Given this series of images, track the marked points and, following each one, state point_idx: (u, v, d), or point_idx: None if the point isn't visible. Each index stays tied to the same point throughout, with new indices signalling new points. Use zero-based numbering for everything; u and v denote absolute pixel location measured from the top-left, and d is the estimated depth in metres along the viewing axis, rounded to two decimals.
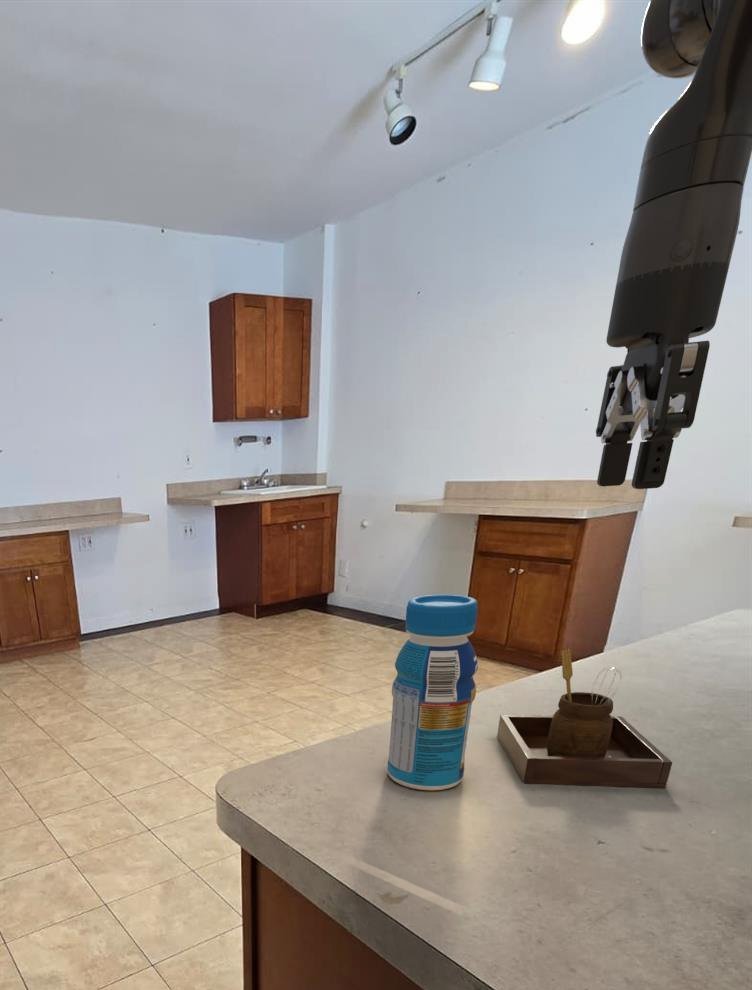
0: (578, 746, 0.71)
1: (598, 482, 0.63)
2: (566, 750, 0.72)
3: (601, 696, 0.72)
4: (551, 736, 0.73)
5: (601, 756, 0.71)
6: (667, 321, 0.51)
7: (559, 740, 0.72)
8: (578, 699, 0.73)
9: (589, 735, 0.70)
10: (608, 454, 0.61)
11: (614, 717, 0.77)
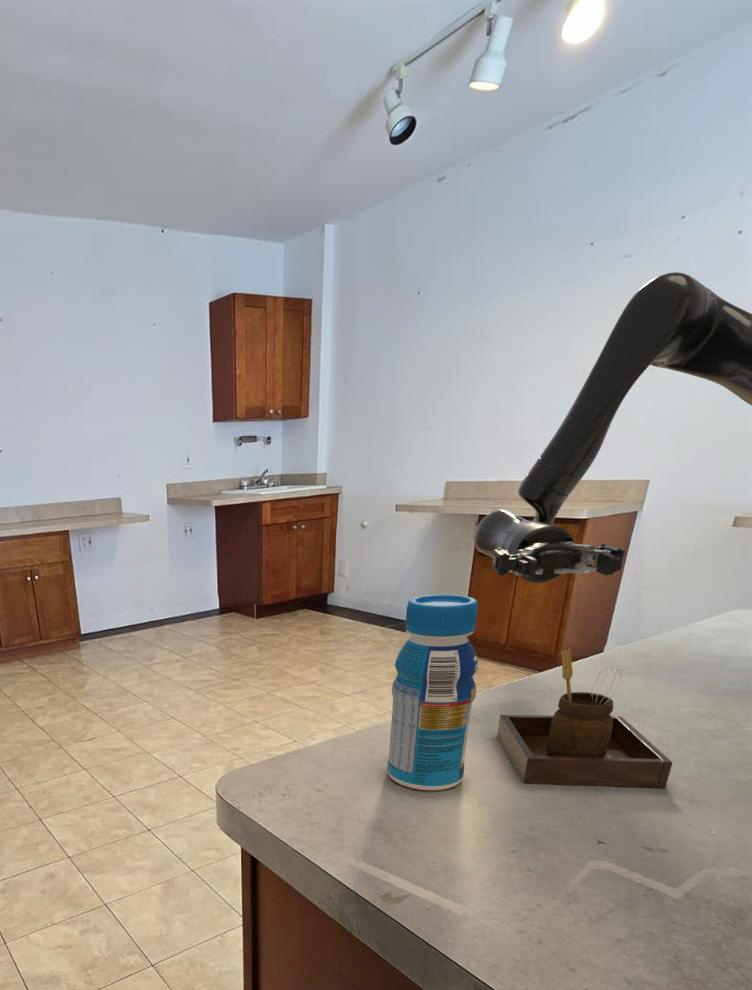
0: (578, 746, 0.71)
1: None
2: (566, 750, 0.72)
3: (601, 696, 0.72)
4: (551, 736, 0.73)
5: (601, 756, 0.71)
6: None
7: (559, 740, 0.72)
8: (578, 699, 0.73)
9: (589, 735, 0.70)
10: (598, 569, 0.78)
11: (614, 717, 0.77)
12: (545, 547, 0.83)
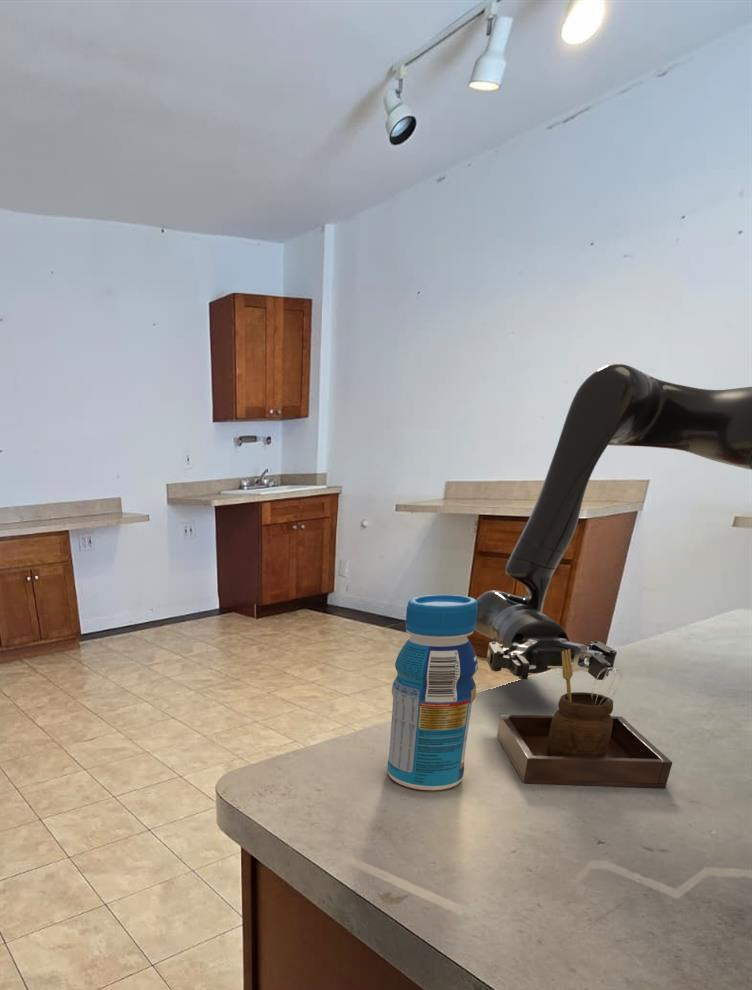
0: (578, 746, 0.71)
1: (599, 679, 0.78)
2: (566, 750, 0.72)
3: (601, 696, 0.72)
4: (551, 736, 0.73)
5: (601, 756, 0.71)
6: None
7: (559, 740, 0.72)
8: (578, 699, 0.73)
9: (589, 735, 0.70)
10: (590, 671, 0.80)
11: (614, 717, 0.77)
12: (538, 643, 0.85)
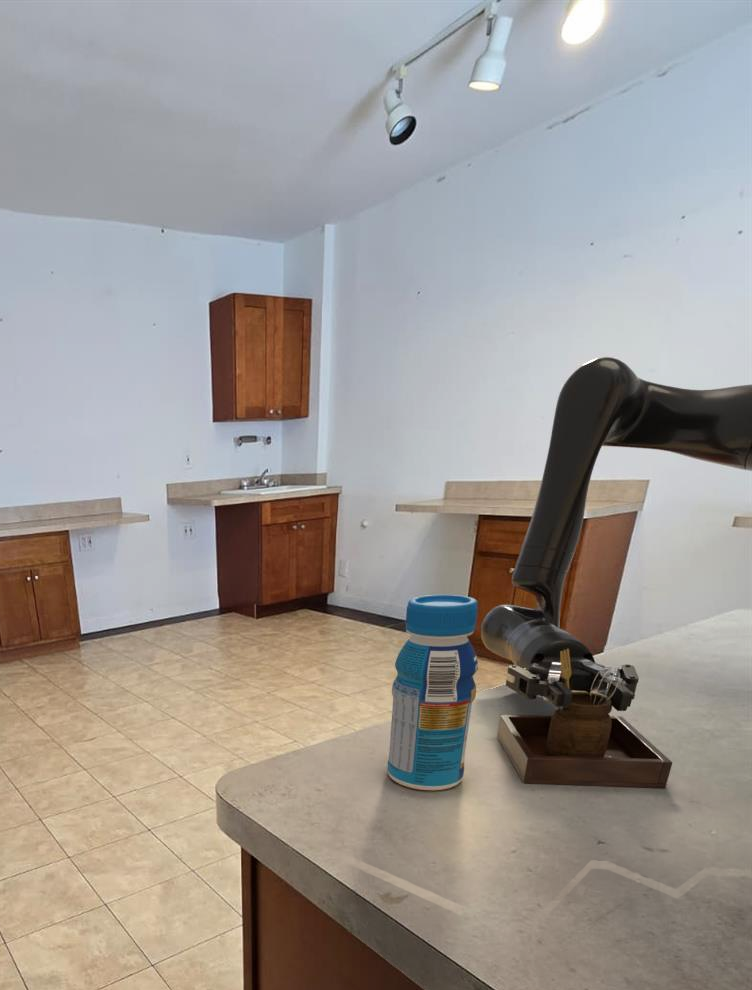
0: (577, 746, 0.71)
1: (620, 710, 0.69)
2: (565, 750, 0.72)
3: (600, 696, 0.72)
4: (550, 736, 0.73)
5: (600, 756, 0.71)
6: None
7: (558, 740, 0.72)
8: (577, 699, 0.73)
9: (588, 735, 0.70)
10: None
11: (614, 717, 0.77)
12: None
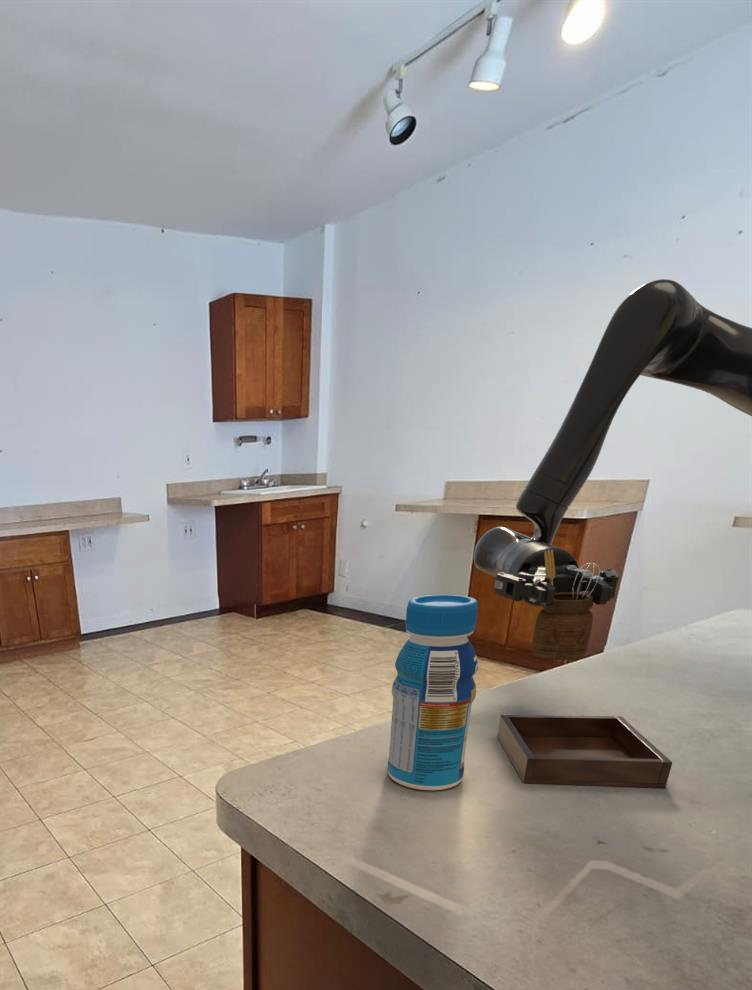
0: (560, 641, 0.75)
1: (601, 604, 0.73)
2: (549, 646, 0.76)
3: (582, 594, 0.75)
4: (535, 634, 0.77)
5: (582, 651, 0.75)
6: None
7: (542, 637, 0.76)
8: (561, 599, 0.77)
9: (570, 629, 0.74)
10: None
11: (614, 717, 0.77)
12: None
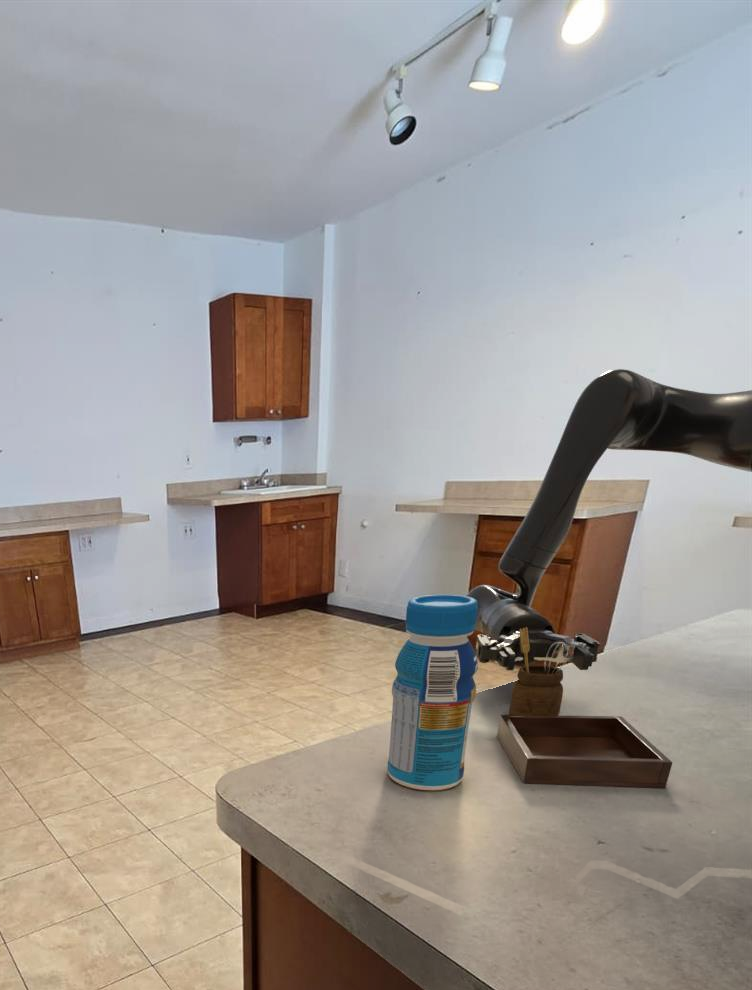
0: (533, 710, 0.83)
1: None
2: (523, 714, 0.84)
3: (554, 667, 0.84)
4: (512, 702, 0.85)
5: None
6: None
7: (518, 705, 0.84)
8: (535, 671, 0.85)
9: (542, 700, 0.82)
10: (574, 662, 0.83)
11: (614, 717, 0.77)
12: None
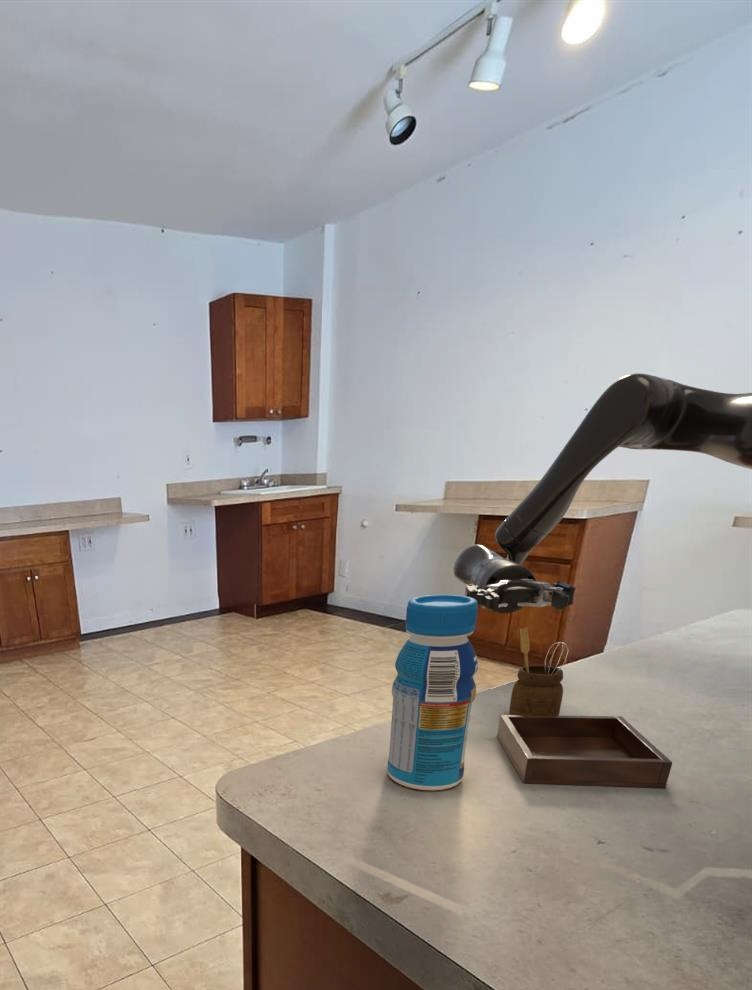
0: (533, 710, 0.83)
1: (560, 609, 0.90)
2: (523, 714, 0.84)
3: (554, 667, 0.84)
4: (512, 702, 0.85)
5: None
6: None
7: (518, 705, 0.84)
8: (535, 671, 0.85)
9: (542, 700, 0.82)
10: (553, 604, 0.92)
11: (614, 717, 0.77)
12: (509, 584, 0.97)
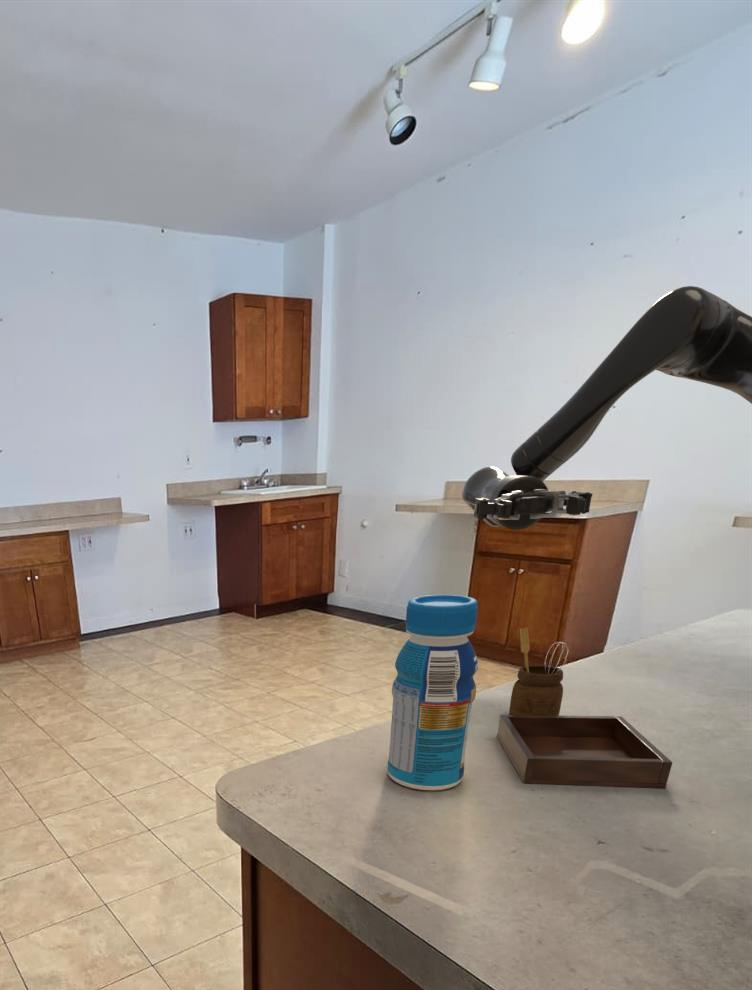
0: (533, 710, 0.83)
1: (576, 514, 0.85)
2: (523, 714, 0.84)
3: (554, 667, 0.84)
4: (512, 702, 0.85)
5: None
6: None
7: (518, 705, 0.84)
8: (535, 671, 0.85)
9: (542, 700, 0.82)
10: (568, 511, 0.87)
11: (614, 717, 0.77)
12: (521, 494, 0.92)
